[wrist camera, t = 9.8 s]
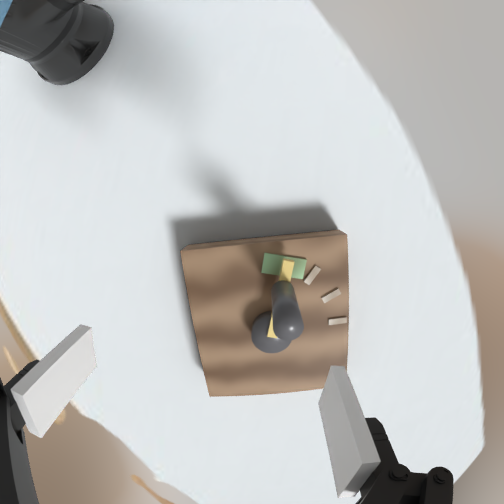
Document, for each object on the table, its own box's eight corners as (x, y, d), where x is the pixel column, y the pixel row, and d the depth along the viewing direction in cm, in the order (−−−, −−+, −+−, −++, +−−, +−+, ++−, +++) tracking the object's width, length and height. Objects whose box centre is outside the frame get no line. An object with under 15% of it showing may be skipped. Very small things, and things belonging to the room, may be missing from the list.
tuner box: (188, 244, 39) (179, 251, 35) (338, 229, 38) (347, 234, 34) (213, 381, 44) (209, 397, 40) (340, 370, 42) (346, 386, 38)
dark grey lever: (248, 342, 37) (242, 398, 26) (266, 252, 35) (267, 283, 24) (286, 347, 37) (293, 404, 26) (308, 260, 35) (327, 293, 24)
